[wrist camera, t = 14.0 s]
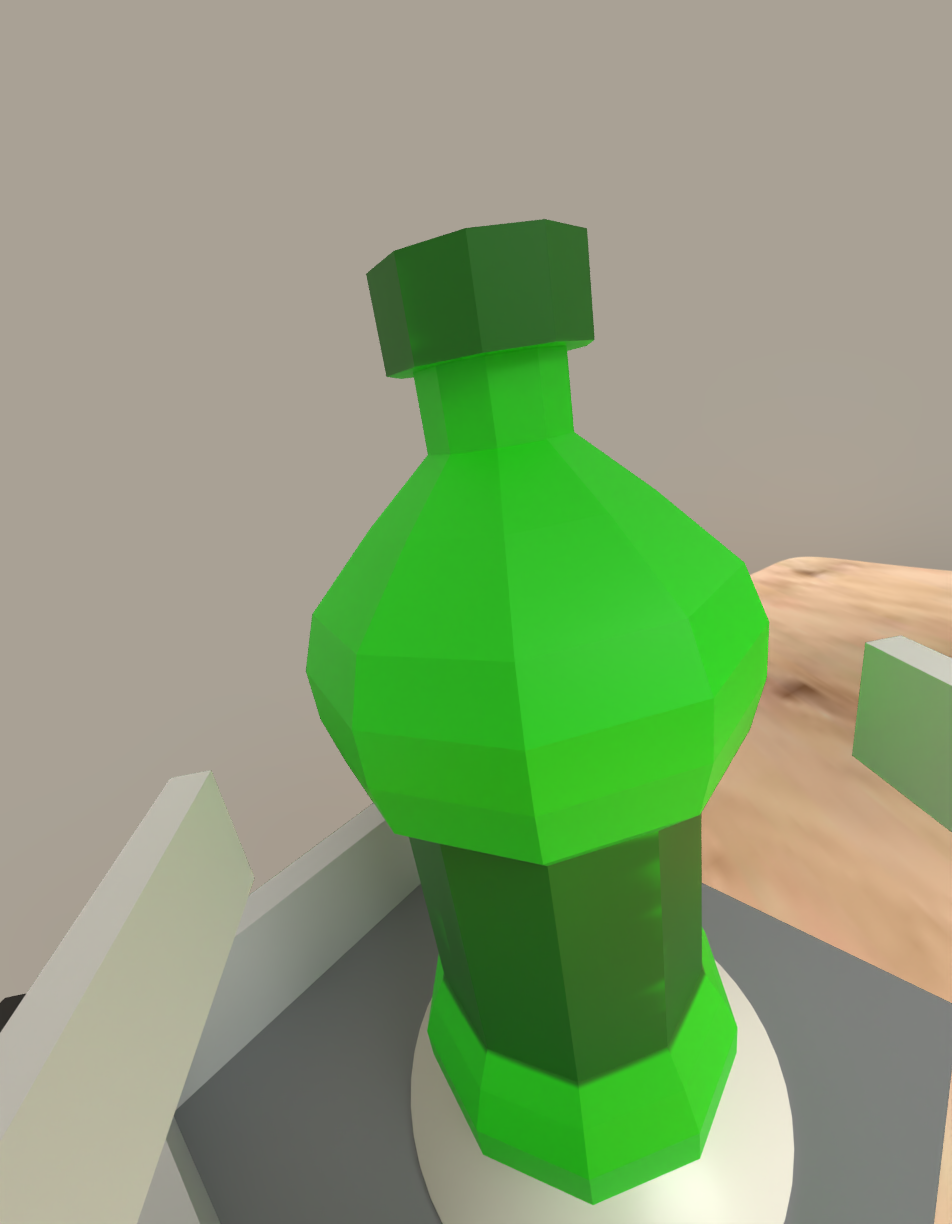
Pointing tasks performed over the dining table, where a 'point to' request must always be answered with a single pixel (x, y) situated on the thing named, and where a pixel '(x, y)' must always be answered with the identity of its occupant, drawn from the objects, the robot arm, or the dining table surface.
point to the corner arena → (434, 1124)
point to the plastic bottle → (544, 722)
